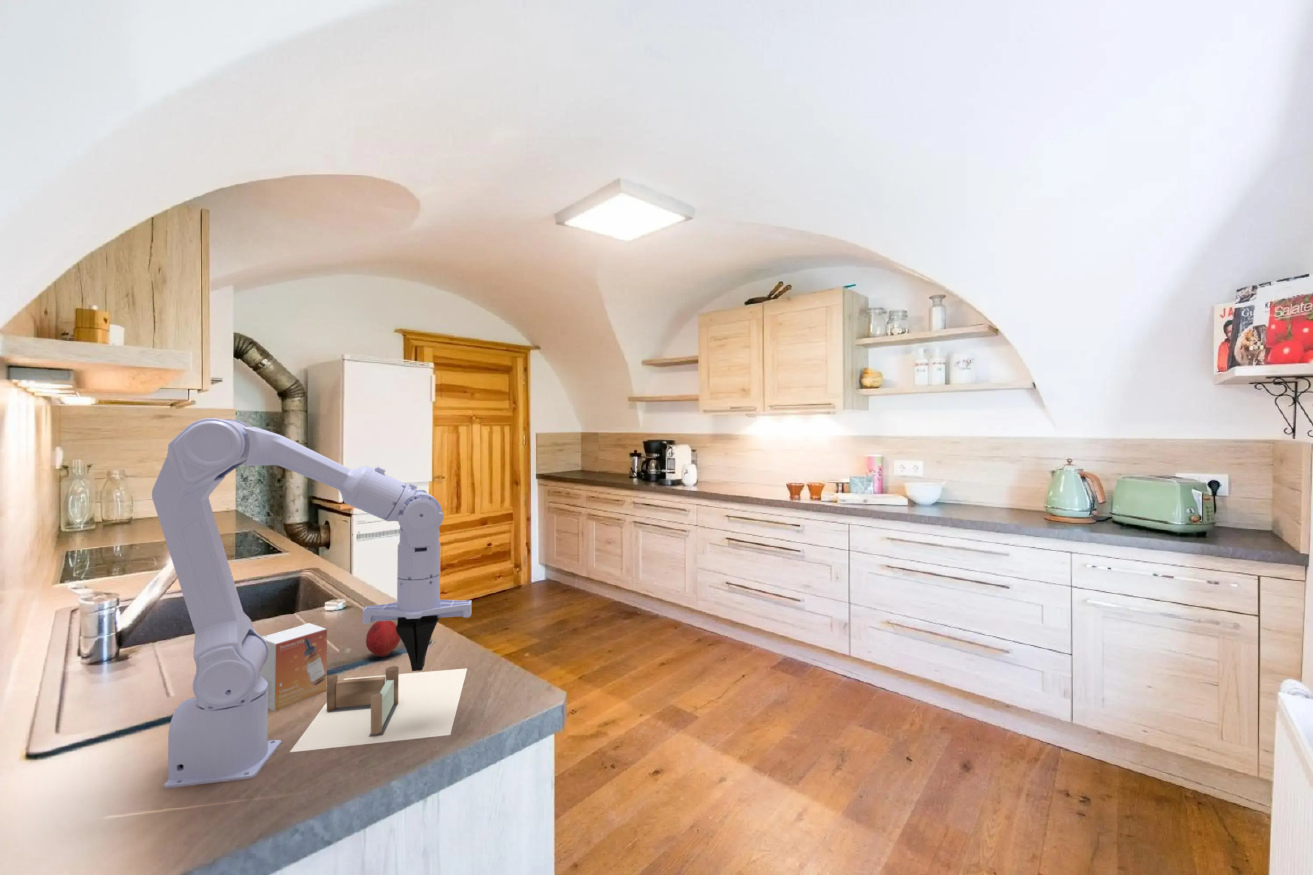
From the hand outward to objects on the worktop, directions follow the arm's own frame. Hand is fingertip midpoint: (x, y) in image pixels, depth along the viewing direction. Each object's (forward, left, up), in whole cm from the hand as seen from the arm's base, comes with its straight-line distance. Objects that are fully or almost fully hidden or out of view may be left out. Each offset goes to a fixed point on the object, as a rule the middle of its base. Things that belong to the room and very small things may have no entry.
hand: (418, 667), depth 80 cm
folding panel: (-5, +1, -7) cm, 9 cm away
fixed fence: (-9, +7, -8) cm, 14 cm away
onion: (-11, +27, -8) cm, 30 cm away
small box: (-21, +13, -8) cm, 26 cm away
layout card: (-5, +7, -8) cm, 12 cm away
